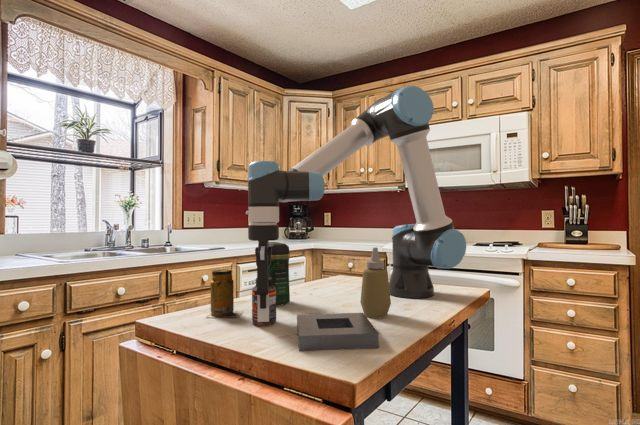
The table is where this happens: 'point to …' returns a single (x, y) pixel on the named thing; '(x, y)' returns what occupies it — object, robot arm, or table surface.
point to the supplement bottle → (271, 305)
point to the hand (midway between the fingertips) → (264, 317)
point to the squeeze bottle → (375, 288)
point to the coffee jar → (280, 271)
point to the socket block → (336, 332)
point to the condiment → (222, 295)
